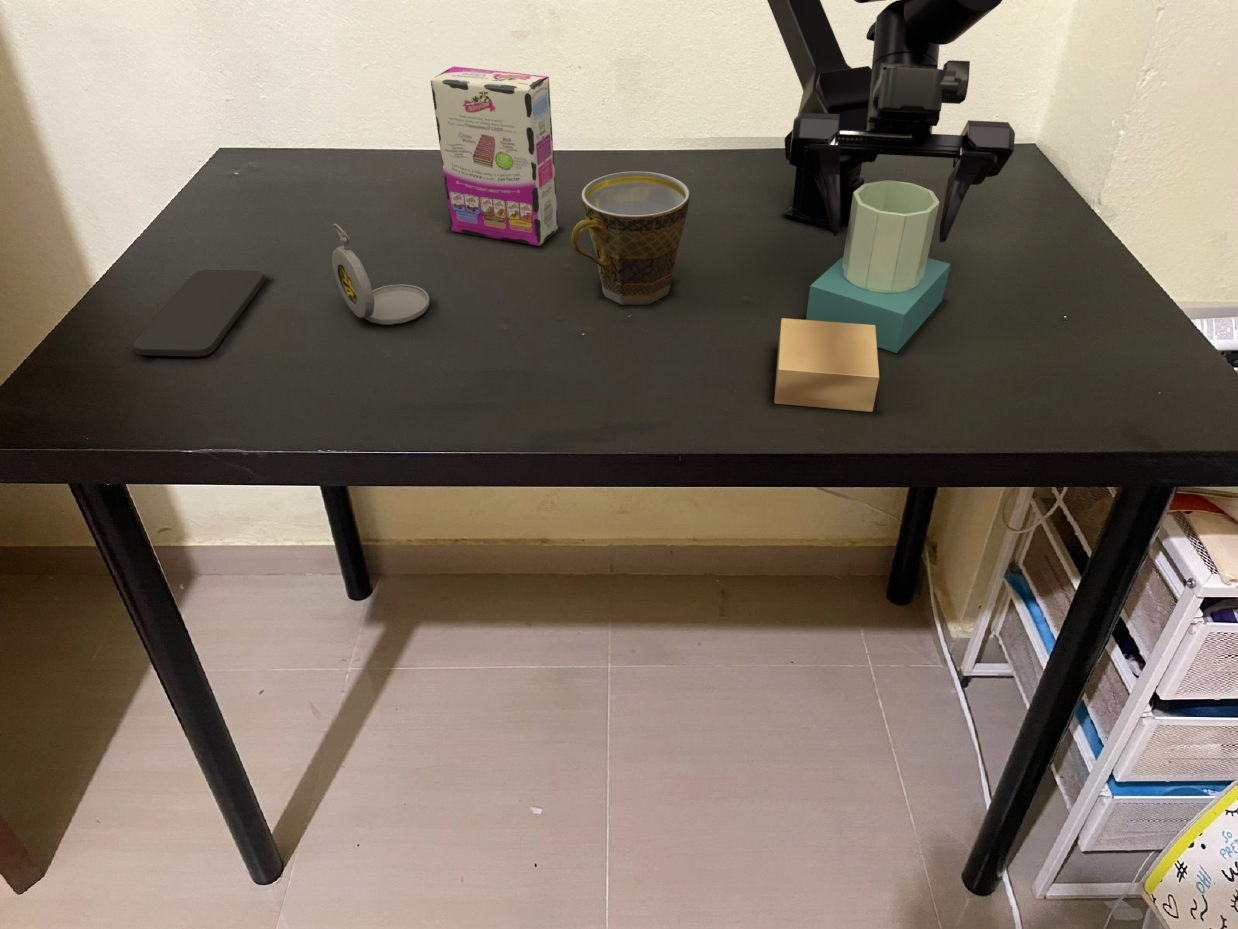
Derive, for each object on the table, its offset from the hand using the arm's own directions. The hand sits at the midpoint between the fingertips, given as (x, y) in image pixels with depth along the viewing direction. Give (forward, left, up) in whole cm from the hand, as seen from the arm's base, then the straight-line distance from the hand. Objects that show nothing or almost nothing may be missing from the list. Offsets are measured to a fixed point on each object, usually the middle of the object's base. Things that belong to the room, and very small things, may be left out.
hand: (889, 238), depth 83 cm
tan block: (+1, -12, -8) cm, 15 cm away
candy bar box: (-41, -6, -8) cm, 42 cm away
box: (0, +1, -8) cm, 8 cm away
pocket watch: (-39, -26, -8) cm, 47 cm away
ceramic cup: (-22, -10, -8) cm, 25 cm away
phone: (-53, -36, -8) cm, 64 cm away
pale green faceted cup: (0, +1, -4) cm, 4 cm away
